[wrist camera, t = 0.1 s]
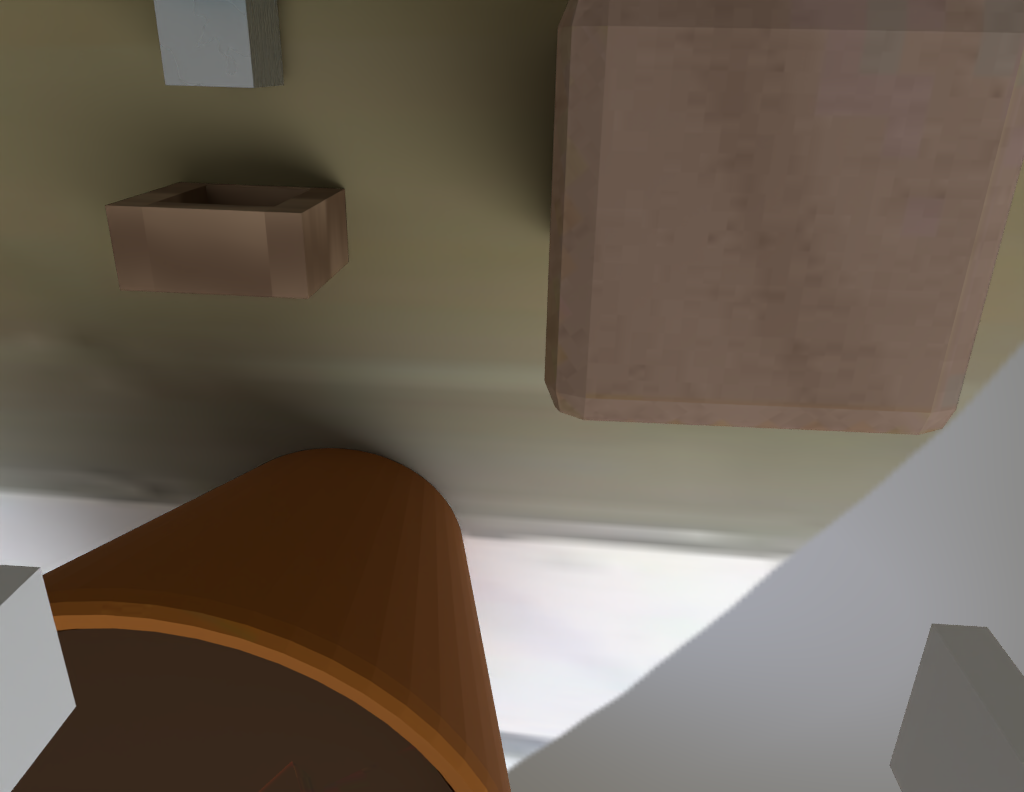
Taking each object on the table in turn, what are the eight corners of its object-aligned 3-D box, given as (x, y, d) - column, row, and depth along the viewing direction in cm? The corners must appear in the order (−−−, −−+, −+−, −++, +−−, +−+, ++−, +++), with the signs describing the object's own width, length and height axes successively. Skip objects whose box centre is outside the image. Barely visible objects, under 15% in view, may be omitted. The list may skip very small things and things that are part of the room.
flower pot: (251, 740, 51) (76, 1116, 33) (55, 433, 43) (-324, 709, 25) (595, 660, 47) (613, 1045, 29) (451, 300, 39) (345, 516, 20)
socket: (179, 182, 37) (104, 205, 31) (344, 188, 37) (301, 213, 31) (189, 254, 38) (120, 290, 33) (348, 261, 38) (308, 298, 32)
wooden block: (554, 250, 37) (541, 434, 19) (563, 19, 33) (559, -33, 15) (766, 257, 37) (964, 453, 18) (801, 23, 33) (1097, -25, 14)
